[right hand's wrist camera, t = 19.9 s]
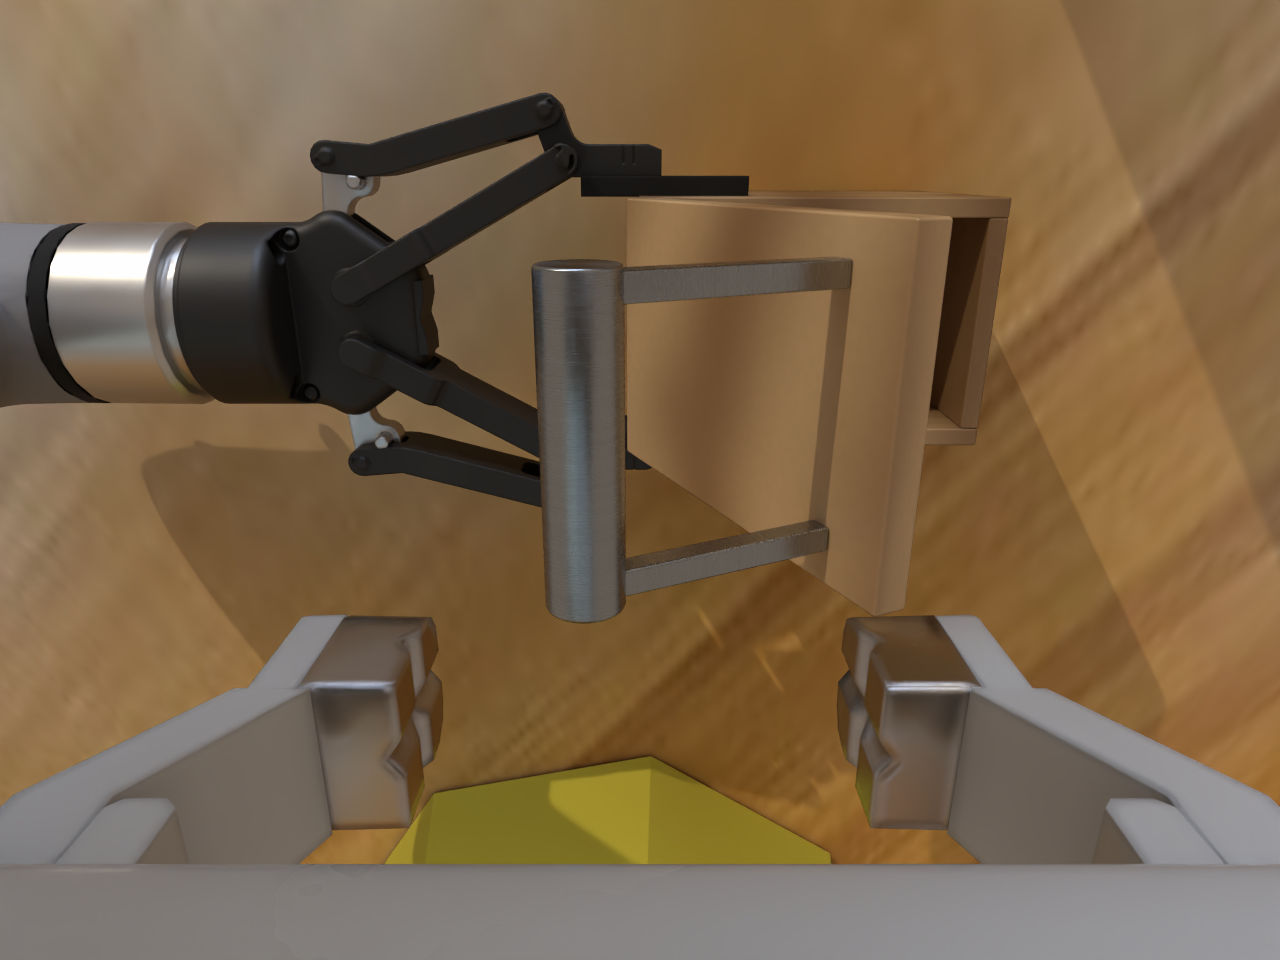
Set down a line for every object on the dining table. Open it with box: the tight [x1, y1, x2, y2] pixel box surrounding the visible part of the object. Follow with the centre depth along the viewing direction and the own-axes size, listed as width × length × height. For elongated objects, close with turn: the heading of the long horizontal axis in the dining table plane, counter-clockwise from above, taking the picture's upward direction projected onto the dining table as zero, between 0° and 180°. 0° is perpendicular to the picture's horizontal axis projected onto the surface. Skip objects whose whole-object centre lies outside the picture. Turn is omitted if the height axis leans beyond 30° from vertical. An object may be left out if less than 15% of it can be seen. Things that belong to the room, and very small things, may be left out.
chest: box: [638, 191, 1011, 445], centre depth 37 cm, size 14×10×10 cm
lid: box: [531, 198, 953, 623], centre depth 24 cm, size 15×10×9 cm
